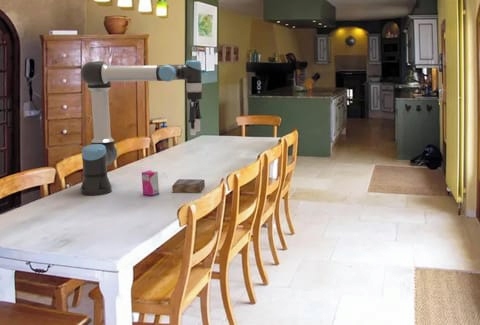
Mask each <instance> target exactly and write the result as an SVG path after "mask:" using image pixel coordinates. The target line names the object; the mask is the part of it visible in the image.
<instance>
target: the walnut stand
mask: <svg viewBox="0 0 480 325" xmlns="http://www.w3.org/2000/svg"><path fill="white" fill-rule="evenodd" d="M205 183H206V182H205V179H198V178H195V179H193V178H192V179H190V178H189V179H187V178H186V179H185V178H183V179H181V178H179V179H177V180H176V181H175V182H174V183H173V184H172V185H171V186H172V188H171V190H172V193H178V194H181V193H183V194H186V193H188V194H201V193H202V192H203V190H204V189H205V186H206V185H205Z"/></svg>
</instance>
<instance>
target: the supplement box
mask: <svg viewBox="0 0 480 325" xmlns="http://www.w3.org/2000/svg"><path fill="white" fill-rule="evenodd" d="M158 172H159V171H156V170H147V171H141V183H142V195H144V196H146V197H147V196H148V197H153V196H156V195H159V194H160V189H159V185H160V184H159V173H158Z"/></svg>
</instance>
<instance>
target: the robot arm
mask: <svg viewBox="0 0 480 325" xmlns="http://www.w3.org/2000/svg"><path fill="white" fill-rule="evenodd" d="M80 78H81V79H82V81H83V82H84V83H85V84H87V89H88V90H89V91H90V92H91V93H90V96H91V97H90V98H91V111H92V126H93V138H92V139H91V141H90V143H91V144H88V145H85V146H83V147H82V150H81V159H82V173H83V180H82V183H81V185H80V186H81V187H80V194H81V195H85V196H100V195H106V194H110V193H111V192H112V191H113V190H112V189H113V188H112V185H111V182H110V179H109V177H108V166H110V165H112V164H114V162H115V161H116V160H117V157H118V148H117V147H116V146H115V139H114V138H112V135H111V131H112V130H111V116H110V100H109V91H110V89H111V88H112V82H172V81H179V80H180V81H181V80H183V81H185V80H186V91H187V92H186V99H187V100H189V101H190V102H189V114H188V115H189V116H188V123H189V130H190V132H189V133H190V134H189V135H190V136H196V135H197V133H198V132H201V119H202V117H203V116H201V107H200V100H202V99H203V93H202V90H203V88H202V87H203V84H202V83H203V82H202V62H201V61H200V60H194V59H193V60H186V61H185V64H163V65H161V64H160V65H159V64H156V65H155V64H154V65H153V64H151V65H145V64H144V65H141V64H139V65H110V64H108V63H107V62H105V61H101V60H97V61H96V60H95V61H88V62H86V63H84V65H82V67H81V69H80Z"/></svg>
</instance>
